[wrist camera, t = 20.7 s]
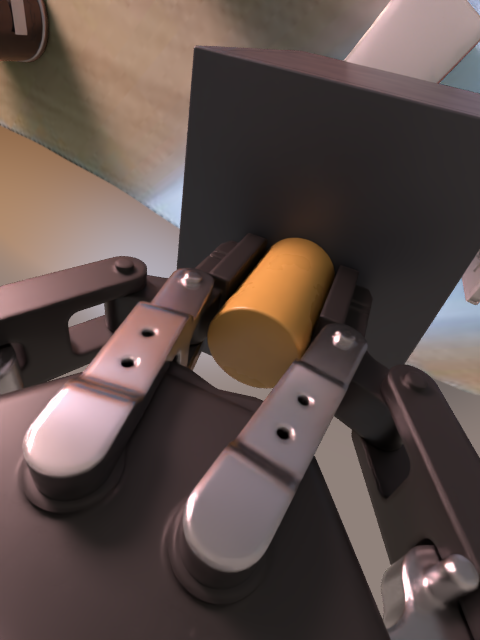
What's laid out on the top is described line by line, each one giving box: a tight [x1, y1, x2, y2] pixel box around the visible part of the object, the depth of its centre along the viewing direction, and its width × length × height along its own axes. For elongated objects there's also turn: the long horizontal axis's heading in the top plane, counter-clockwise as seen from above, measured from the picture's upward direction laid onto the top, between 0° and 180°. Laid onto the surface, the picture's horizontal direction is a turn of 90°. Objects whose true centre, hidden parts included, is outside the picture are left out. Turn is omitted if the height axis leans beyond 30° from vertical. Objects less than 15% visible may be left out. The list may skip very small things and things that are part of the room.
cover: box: [177, 46, 480, 388], centre depth 17 cm, size 10×12×18 cm
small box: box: [344, 0, 480, 84], centre depth 27 cm, size 8×6×10 cm
